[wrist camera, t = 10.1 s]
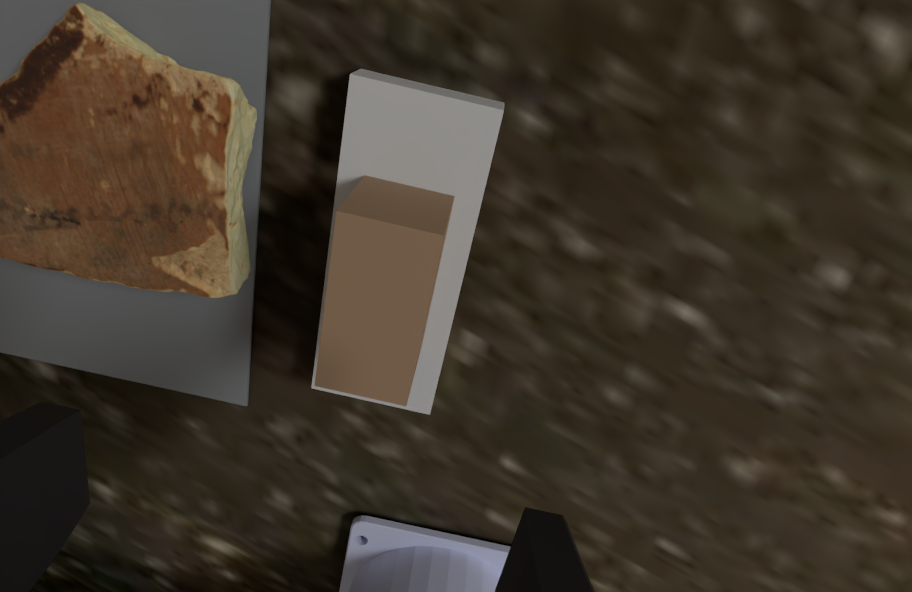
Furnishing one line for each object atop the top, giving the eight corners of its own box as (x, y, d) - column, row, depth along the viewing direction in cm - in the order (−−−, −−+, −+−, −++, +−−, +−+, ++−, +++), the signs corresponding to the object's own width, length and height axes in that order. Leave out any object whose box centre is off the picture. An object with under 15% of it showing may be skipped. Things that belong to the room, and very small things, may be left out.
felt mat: (247, 404, 22) (246, 406, 22) (-40, 341, 21) (-43, 343, 21) (272, -26, 15) (270, -26, 15) (-138, -122, 15) (-142, -122, 15)
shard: (-81, 217, 19) (-135, 238, 18) (-144, -53, 16) (-219, -58, 14) (252, 289, 19) (228, 315, 18) (263, 37, 16) (235, 42, 14)
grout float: (435, 388, 21) (416, 480, 17) (323, 363, 21) (279, 449, 17) (504, 101, 17) (502, 135, 13) (362, 67, 16) (315, 91, 12)
